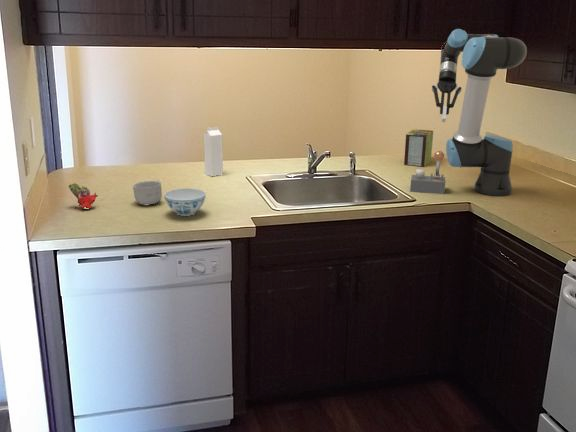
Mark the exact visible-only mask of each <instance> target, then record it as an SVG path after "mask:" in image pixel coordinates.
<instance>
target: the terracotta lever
mask: <svg viewBox="0 0 576 432" xmlns="http://www.w3.org/2000/svg"><path fill="white" fill-rule="evenodd" d="M433 158H434V159H435V160H436V165H435V173H433V176H434V178H436V179H440V177H441V174H440V169H441V168H440V166H441V161H442V160H444V159H445V154H444V152H442V151H440V150H438V151H437V150H436V151H435V152H434V154H433Z"/></svg>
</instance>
